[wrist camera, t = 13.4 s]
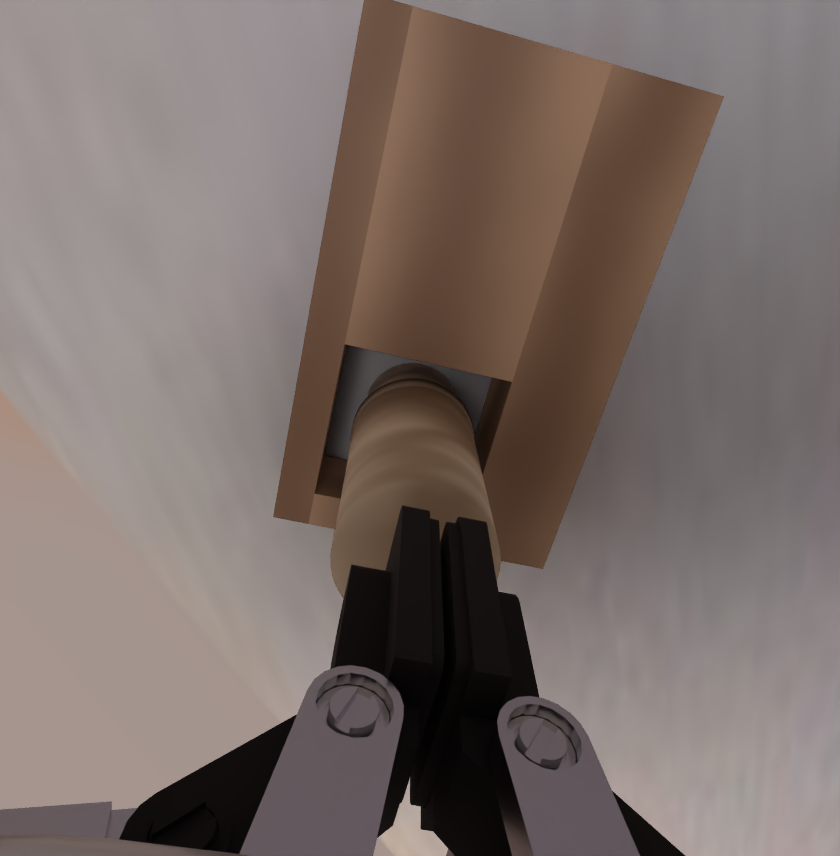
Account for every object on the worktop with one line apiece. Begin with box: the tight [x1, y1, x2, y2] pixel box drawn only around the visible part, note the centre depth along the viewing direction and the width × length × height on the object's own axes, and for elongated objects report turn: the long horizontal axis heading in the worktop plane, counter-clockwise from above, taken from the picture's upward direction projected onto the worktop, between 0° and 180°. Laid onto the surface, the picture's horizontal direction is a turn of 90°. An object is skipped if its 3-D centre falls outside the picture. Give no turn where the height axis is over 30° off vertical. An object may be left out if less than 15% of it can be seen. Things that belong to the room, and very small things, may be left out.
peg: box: [331, 363, 501, 598], centre depth 20 cm, size 4×4×10 cm
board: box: [273, 0, 724, 569], centre depth 21 cm, size 10×16×3 cm, turn 166°
